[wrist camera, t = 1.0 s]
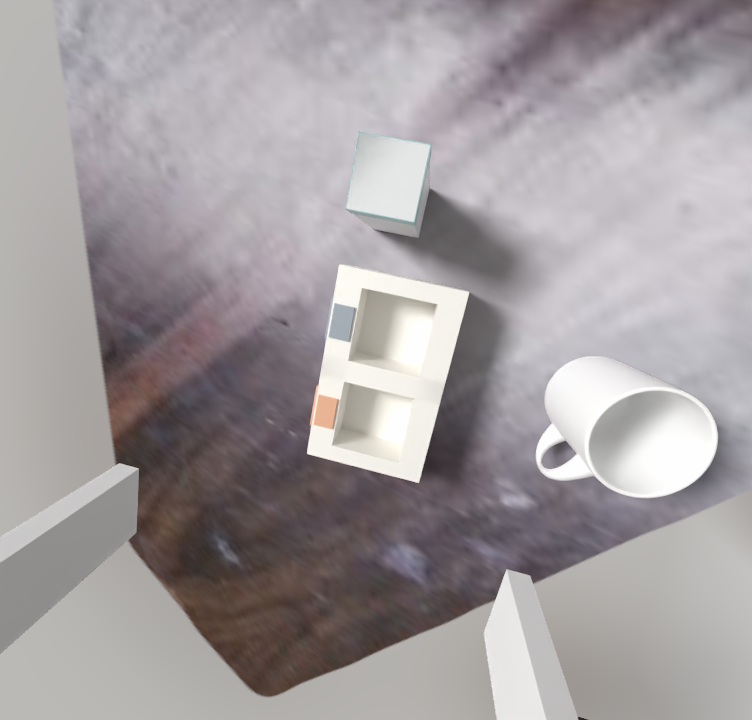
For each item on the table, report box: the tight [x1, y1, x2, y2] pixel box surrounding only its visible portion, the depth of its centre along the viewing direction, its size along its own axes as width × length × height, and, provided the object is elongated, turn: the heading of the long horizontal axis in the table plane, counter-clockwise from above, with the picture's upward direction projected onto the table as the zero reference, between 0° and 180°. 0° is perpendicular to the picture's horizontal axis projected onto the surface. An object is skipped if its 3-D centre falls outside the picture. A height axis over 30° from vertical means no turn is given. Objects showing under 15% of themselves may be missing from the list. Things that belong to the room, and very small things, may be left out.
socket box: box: [307, 264, 469, 483], centre depth 35 cm, size 18×11×6 cm, turn 168°
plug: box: [346, 131, 431, 238], centre depth 29 cm, size 5×5×12 cm
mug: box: [536, 356, 718, 498], centre depth 32 cm, size 9×12×11 cm
